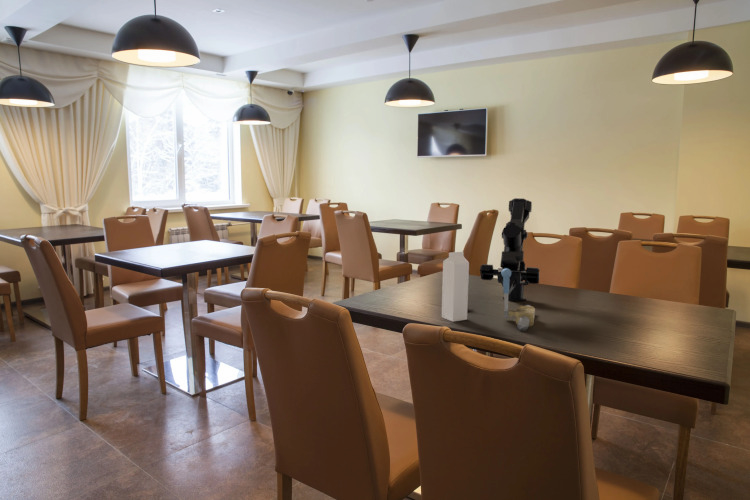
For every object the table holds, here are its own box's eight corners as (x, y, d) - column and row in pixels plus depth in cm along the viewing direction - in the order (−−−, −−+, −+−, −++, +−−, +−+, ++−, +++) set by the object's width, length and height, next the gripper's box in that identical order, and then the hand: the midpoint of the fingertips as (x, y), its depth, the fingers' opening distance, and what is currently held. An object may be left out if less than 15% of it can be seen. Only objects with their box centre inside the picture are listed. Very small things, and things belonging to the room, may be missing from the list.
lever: (502, 312, 164) (501, 266, 156) (511, 313, 163) (511, 266, 155) (501, 317, 162) (500, 271, 153) (510, 318, 161) (510, 271, 152)
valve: (512, 312, 172) (512, 300, 172) (535, 314, 170) (536, 302, 169) (505, 329, 152) (505, 315, 151) (531, 332, 149) (532, 318, 149)
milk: (467, 319, 163) (470, 252, 160) (452, 322, 160) (455, 253, 157) (455, 315, 168) (458, 250, 165) (440, 317, 165) (443, 251, 162)
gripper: (481, 240, 166) (475, 278, 157) (540, 243, 159) (537, 283, 150) (484, 260, 174) (478, 297, 165) (540, 263, 168) (537, 303, 159)
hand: (506, 295), depth 160 cm, fingers closed, pressing on lever
